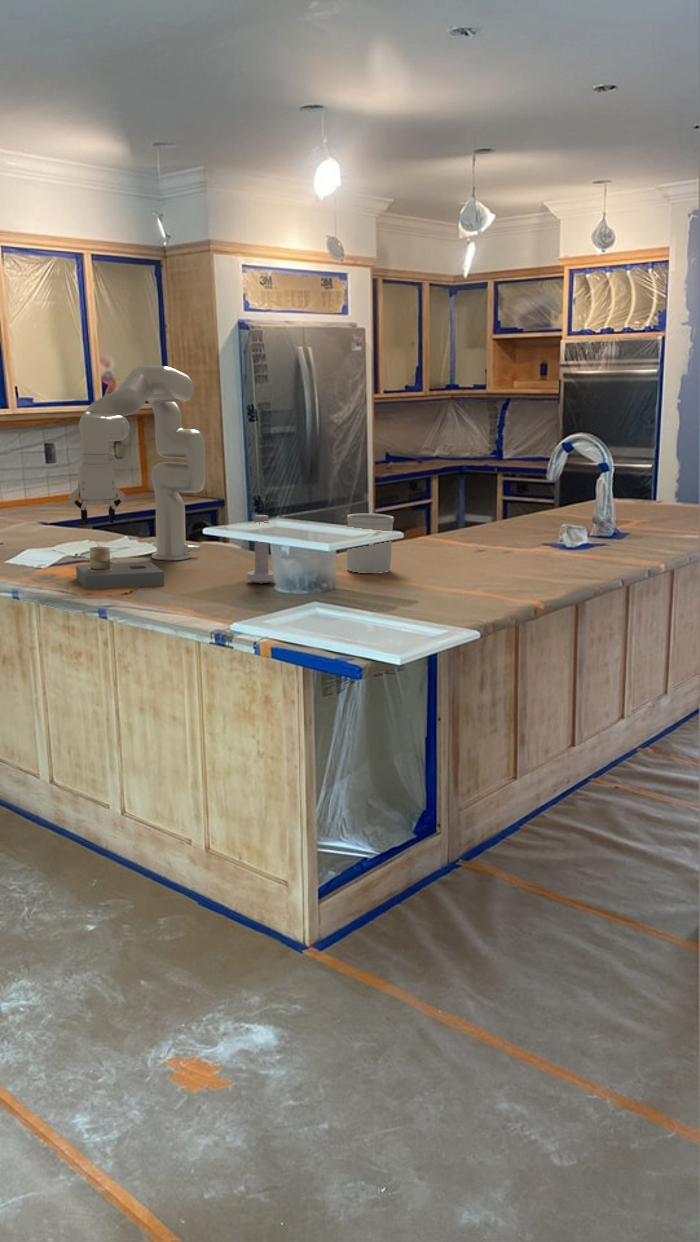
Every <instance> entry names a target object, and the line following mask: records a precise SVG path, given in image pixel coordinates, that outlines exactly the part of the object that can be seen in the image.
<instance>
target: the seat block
mask: <svg viewBox="0 0 700 1242" xmlns="http://www.w3.org/2000/svg"><path fill="white" fill-rule="evenodd" d="M110 567H111V569H109V570H100V571H98V570H91V569H90V563H89V564H76V565H75V573H76V575H75V576H76V579H77V581H78V582H79V583H80V584H81V586H82V587H83V586H84V587H83V588H84V590H86V591H91V590H90V589H96V590H107V589H108V590H110V589H111V588H113V589H125V588H127V589H129V588H141V587H143V588H144V587H145V588H146V587H158V586H159V587H160V586H165V578H164V577H165V575H164V573H165V572H164V571H163V570H162V569H161V568H159V567H158V566H157V565H155V564H154V563H152V562H151V561H133V562H132V561H131V562H129V561H128V562H110Z"/></svg>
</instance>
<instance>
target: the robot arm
mask: <svg viewBox="0 0 700 1242" xmlns="http://www.w3.org/2000/svg"><path fill="white" fill-rule="evenodd" d="M193 393H194V384H193V381H192V379H191V378H190V377H189V376H188V375H187V374H185V373H183V372H181V371H179V370H177V369H175V368H172V367H170V366H166V365H139V366H136V367H135V368H133V369H132V370H131V372H130V373H129V374H128V376H127V377H126V378H125V379H124V381H122V383H121V384H120V386H119V388H117V390H115V391H113V392H110V393H108V394H105V395H103V396H102V397H100V398H98V399H96V400H94V401H92V402H91V404H90V405H88V406H87V408H86V410H85V411H84V412H83V413H82V415H81V417H80V420H79V423H78V430H79V433H80V437H81V438H80V439H81V456H82V457H81V460H82V461H81V462H82V464H79V467H78V475H77V487H76V489H74V490H73V491H72V492H71V493H70V494H69V495H68V499H69V500H71V501H72V503H74V504H75V506H76V507H78V508H79V509H80V519H81V522H83V524H84V525H87V524H88V521H89V520H88V510H87V506H88V503H89V501H91V502H93V501H95V502H96V501H106V502H107V503H108V505H109V508H108V522H109V523H110V524H114V521H115V520H116V509H117V507H118V506H119V505H120V504H121V503H122V501H123V500H124V499H125V498H126V497H127V496H126V494H125V493H124V492H123V491H122V490H121V489H119V488H118V487H117V486H116V481H115V480H116V479H115V473H114V472H115V471H114V467H113V464H111V462H113V461H116V457H115V455H111V454H110V442H119V441H120V442H121V441H123V440H125V439H126V438H127V437H128V435H129V433H130V429H131V428H130V423H129V421H128V419H127V418H126V416H129V415H133V414H136V413H137V412H139V411H141V409H142V407H143V406H144V405H145V403H146V402H148V403H149V406H150V407H151V409H152V412H153V415H154V432H155V433H154V434H155V436H154V438H155V449H156V453H157V455H159V456H160V457H162V458H168V459H183V460H184V459H185V460H186V462H180V461H179V462H178V461H176V462H175V461H164V462H163V461H162V462H159V463H157V464H156V465H154V466H153V468H152V471H151V482H152V486H153V490H154V501H155V503H154V504H155V529H156V530H155V533H156V540H155V542H156V551H155V552H154V553H152V554H151V558H152V559H154V560H159V561H183V560H187V559H191V552H201V551H200V550H201V547H200V545H190V544H188V543H186V507H185V506H186V505H185V502H184V499H183V498H182V496H181V495H180V493H193V494H194V493H200V492H201V491H203V490H204V487H205V484H206V446H205V439H204V437H203V434H202V433H201V431H199V430H197V429H194V428H193V429H192V428H183V426H182V413H181V412H182V411H181V408H179V406H178V404H177V403H186V402H188V401H190V399H191V398H192V396H193ZM117 495H118V497H117V498H116V496H117ZM76 497H78V498H79V499H81V502H80V501H79V500H78V499H77V498H76ZM114 499H115V500H114Z"/></svg>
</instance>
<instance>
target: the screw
mask: <svg viewBox="0 0 700 1242" xmlns="http://www.w3.org/2000/svg"><path fill="white" fill-rule="evenodd" d="M253 521H254V524H255V523H256V522H264V521H268V522H264V523H268V524H270V522H269V515H267V514H257V515H254V520H253ZM259 524H260V523H259ZM269 547H270V546H269V543H264V542H258V541H255V540H254V570H250V571H247V572H246V575H247V576H246V579H247V580H249V581H250V582H252V583H254V584H257V583H260V584H259V585H262V584H263V583H266V584H268V583H271V582H273V581H274V580H273V570H269V566H270V565H269V561H270V559H269V558H270V557H269ZM263 585H264V584H263Z"/></svg>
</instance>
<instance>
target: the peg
mask: <svg viewBox="0 0 700 1242" xmlns="http://www.w3.org/2000/svg"><path fill="white" fill-rule="evenodd" d="M110 551H111V550H110V547H109V546H93V547H90V548H89V564H90V569H91V570H98V571H100V570H109V569H111V567H110V563H111V552H110Z"/></svg>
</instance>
